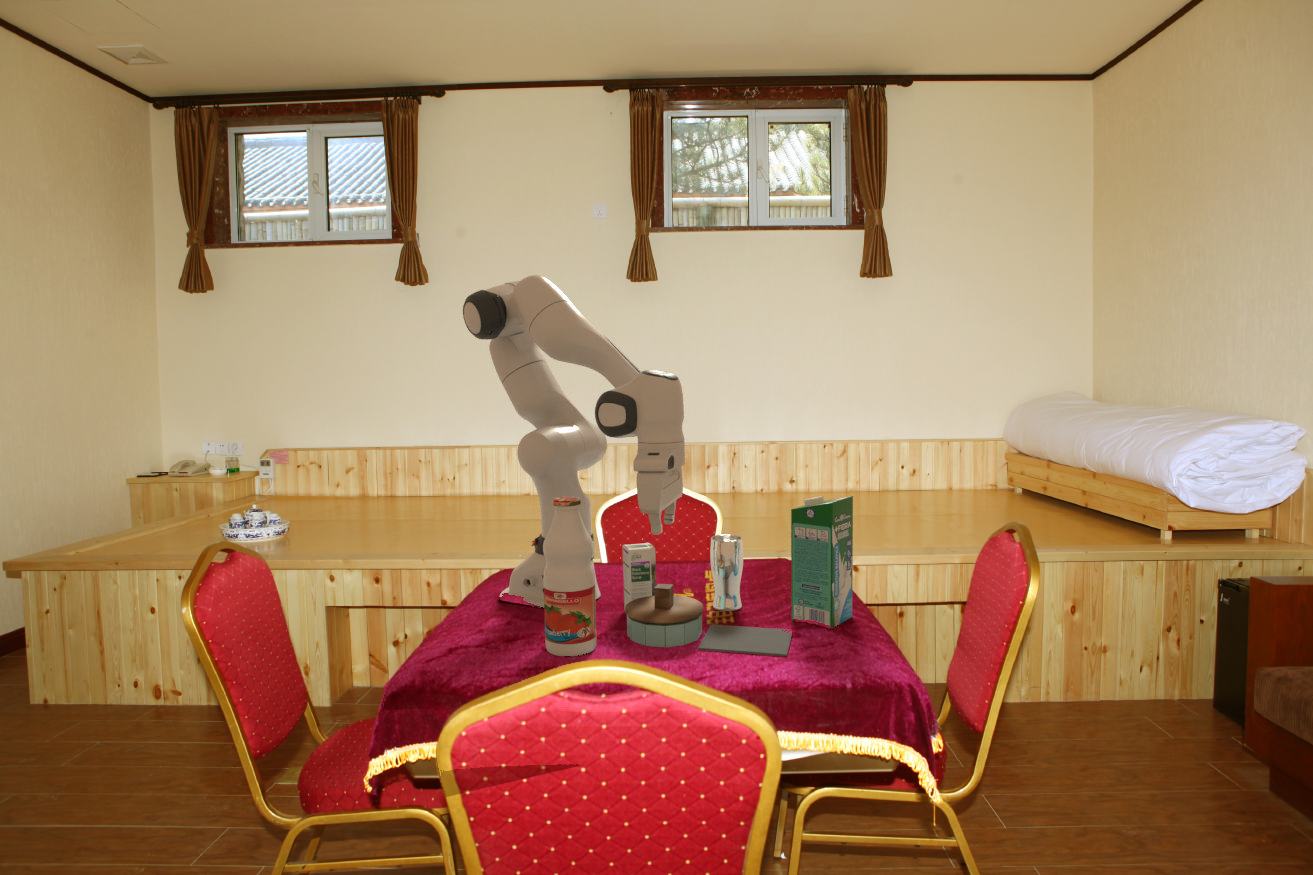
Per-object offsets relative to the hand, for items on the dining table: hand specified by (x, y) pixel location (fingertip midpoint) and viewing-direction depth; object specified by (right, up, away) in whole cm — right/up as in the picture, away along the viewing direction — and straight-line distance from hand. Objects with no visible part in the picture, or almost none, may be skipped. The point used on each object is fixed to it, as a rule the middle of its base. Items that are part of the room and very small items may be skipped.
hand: (663, 528), depth 151 cm
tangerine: (0, -18, +2) cm, 18 cm away
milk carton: (+32, -20, +9) cm, 39 cm away
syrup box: (-5, -20, +15) cm, 25 cm away
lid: (0, -16, +2) cm, 16 cm away
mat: (+16, -21, -2) cm, 26 cm away
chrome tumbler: (+14, -19, +18) cm, 30 cm away
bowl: (0, -21, +2) cm, 21 cm away
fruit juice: (-17, -22, -5) cm, 28 cm away
